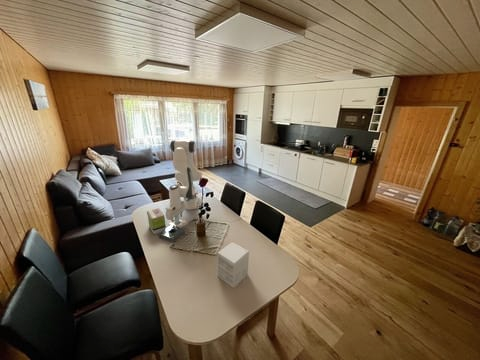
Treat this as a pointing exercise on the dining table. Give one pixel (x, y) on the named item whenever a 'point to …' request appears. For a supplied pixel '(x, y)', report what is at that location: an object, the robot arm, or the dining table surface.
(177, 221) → the plug peg
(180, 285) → the dining table surface
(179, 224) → the holster
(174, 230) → the port block
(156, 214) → the tea box
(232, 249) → the supplement box
